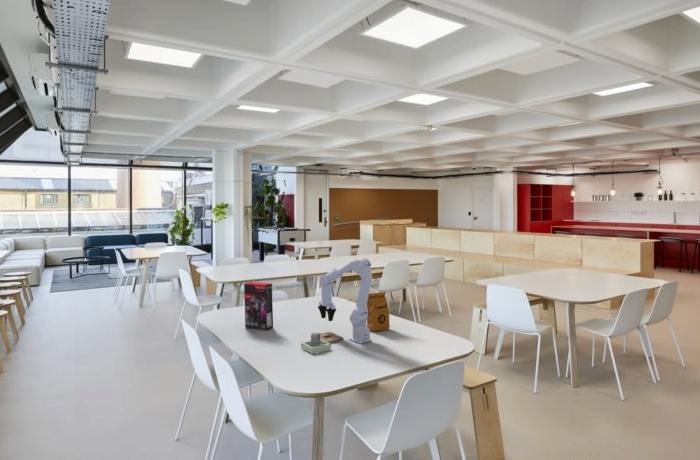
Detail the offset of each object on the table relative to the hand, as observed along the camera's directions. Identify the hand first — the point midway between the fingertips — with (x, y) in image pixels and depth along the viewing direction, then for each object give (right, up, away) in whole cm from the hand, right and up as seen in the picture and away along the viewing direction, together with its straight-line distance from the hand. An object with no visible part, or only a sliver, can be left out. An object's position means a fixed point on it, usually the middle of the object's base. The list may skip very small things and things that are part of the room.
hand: (327, 319), depth 244 cm
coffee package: (+29, -8, +7) cm, 31 cm away
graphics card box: (-42, -9, +15) cm, 45 cm away
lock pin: (-4, -9, -24) cm, 27 cm away
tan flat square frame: (+1, -9, -9) cm, 13 cm away
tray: (-4, -10, -24) cm, 27 cm away
